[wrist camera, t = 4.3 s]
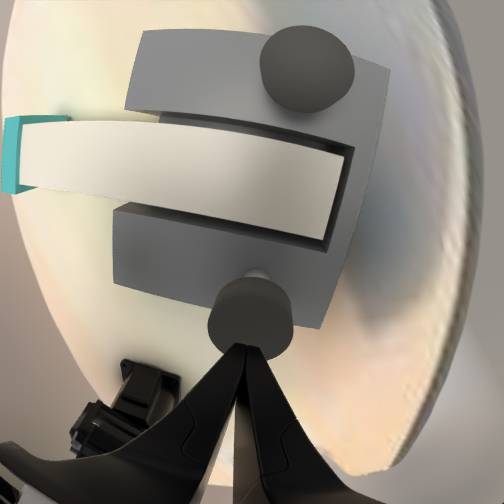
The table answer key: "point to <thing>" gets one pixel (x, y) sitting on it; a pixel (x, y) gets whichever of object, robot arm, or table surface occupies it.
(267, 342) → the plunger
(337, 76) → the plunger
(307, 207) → the bar
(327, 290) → the housing
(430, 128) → the table surface
